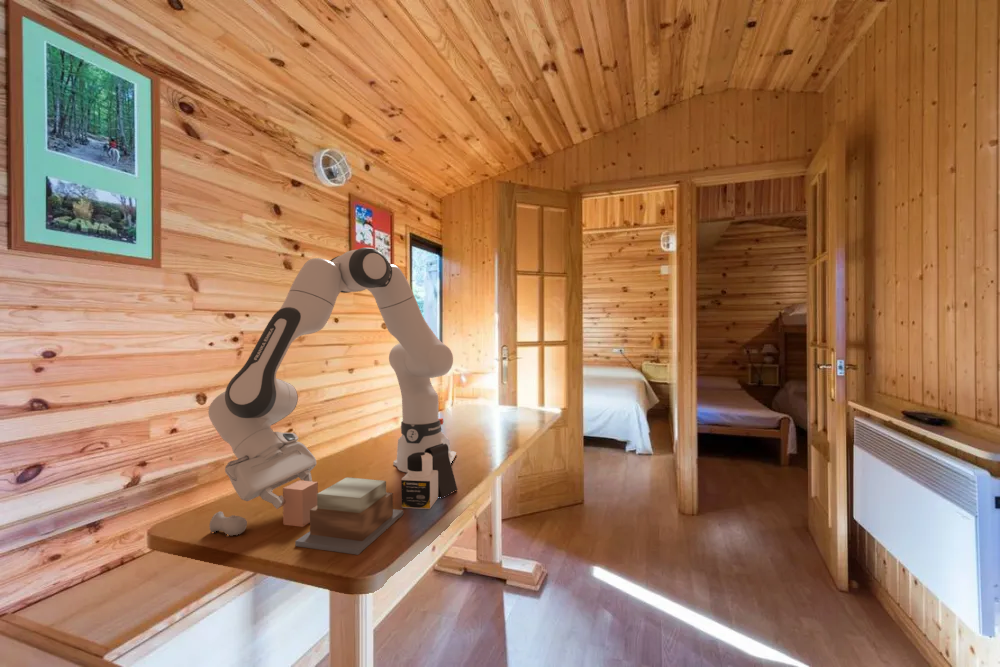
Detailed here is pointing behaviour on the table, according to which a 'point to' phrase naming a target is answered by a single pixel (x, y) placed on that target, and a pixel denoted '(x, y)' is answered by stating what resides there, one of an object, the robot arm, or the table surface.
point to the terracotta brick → (299, 502)
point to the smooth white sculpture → (228, 524)
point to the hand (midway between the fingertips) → (297, 497)
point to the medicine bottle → (419, 482)
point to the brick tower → (351, 509)
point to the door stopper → (442, 469)
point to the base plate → (345, 544)
